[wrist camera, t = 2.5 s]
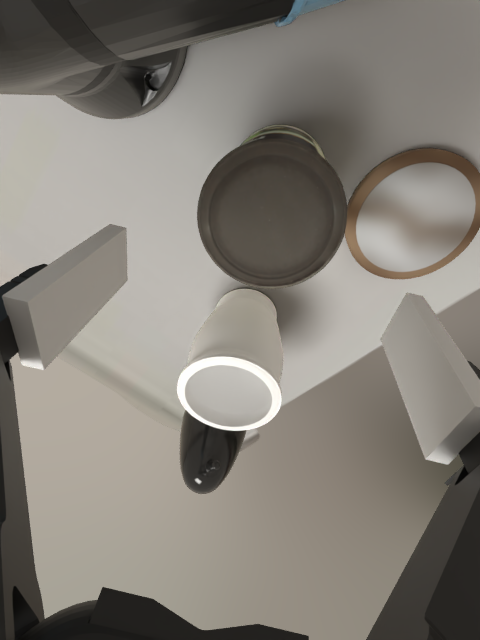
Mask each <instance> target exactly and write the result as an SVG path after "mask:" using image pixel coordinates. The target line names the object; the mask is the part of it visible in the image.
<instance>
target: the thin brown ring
mask: <svg viewBox="0 0 480 640" xmlns="http://www.w3.org/2000/svg"><path fill="white" fill-rule="evenodd" d="M479 228H480V173H479V172H478V170H477V169H476V168H475V167H474V166H473V165H472V164H471V163H470V162H469V161H468V160H466V159H465V158H463V157H461V156H459V155H457V154H454V153H451V152H448V151H445V150H441V149H434V148H420V149H414V150H409V151H406V152H403V153H400V154H397V155H395V156H393V157H391V158H389V159H387V160H386V161H384V162H382V163H381V164H379V165H378V166H377V167H375V168H374V169H373V170H372V171H371V172H370V173H369V174H367V175H366V177H365V178H364V179H363V180H362V181H361V182H360V184H359V185H358V186H357V188H356V189H355V191H354V193H353V195H352V196H351V198H350V201H349V203H348V206H347V224H346V229H345V238H346V241H347V244H348V247H349V249H350V251H351V253H352V255H353V257H354V258H355V260H356V261H357V262H358V263H359V264H360V265H361V266H362V267H363V268H365V269H366V270H367V271H369V272H371V273H373V274H375V275H378V276H380V277H384V278H390V279H410V278H415V277H420V276H423V275H426V274H429V273H431V272H434V271H436V270H438V269H440V268H441V267H443V266H445V265H446V264H448V263H449V262H451V261H452V260H453V259H455V258H456V257H457V256H458V255H459V254H460V253H461V252H462V251H464V250H465V249H466V247H467V246H468V245H469V244H470V242H471V241H472V240H473V238H474V237H475V235H476V234H477V232H478V230H479Z"/></svg>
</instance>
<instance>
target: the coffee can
mask: <svg viewBox="0 0 480 640" xmlns="http://www.w3.org/2000/svg"><path fill="white" fill-rule="evenodd" d="M197 220H198V229H199V233H200V237H201V240H202V242H203V244H204V247H205V249H206V251H207V252H208V254H209V256H210V257H211V259H212V260H213V261H214V262H215V264H216V265H217V266H218V267H219V268H220V269H221V270H222V271H224V272H225V273H226V274H227V275H229V276H230V277H232V278H234V279H235V280H237V281H239V282H242V283H244V284H246V285H250V286H253V287H258V288H267V289H277V288H284V287H289V286H293V285H296V284H299V283H301V282H303V281H306V280H307V279H309V278H311V277H313V276H314V275H315V274H317V273H318V272H319V271H321V270H322V269H323V268H324V267H325V266H326V265H327V264H328V263H329V262H330V260H331V259H332V258H333V256H334V255H335V253H336V252H337V250H338V248H339V246H340V244H341V242H342V239H343V237H344V233H345V229H346V224H347V202H346V197H345V193H344V189H343V186H342V183H341V181H340V179H339V177H338V176H337V174H336V172H335V171H334V169H333V168H332V167H331V165H330V164H329V163H328V162H327V161H326V159H325V157H324V154H323V152H322V150H321V148H320V146H319V145H318V143H317V142H316V141H315V140H314V138H312V137H311V136H310V135H309V134H307V133H306V132H304V131H303V130H301V129H299V128H296V127H293V126H288V125H272V126H268V127H265V128H262V129H260V130H258V131H256V132H255V133H253V134H252V135H250V136H249V137H248V138H247V139H246V140H245V141H244V142H243V143H242V144H241V145H240V146H239V147H237V148H236V149H234V150H233V151H231V152H230V153H228V154H227V155H226V156H225V157H223V158H222V159H221V160H220V161H219V162H218V163H217V164H216V166H215V167H214V168H213V169H212V171H211V172H210V174H209V175H208V177H207V179H206V181H205V183H204V184H203V187H202V190H201V193H200V197H199V201H198V209H197Z"/></svg>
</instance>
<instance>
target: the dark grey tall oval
mask: <svg viewBox="0 0 480 640" xmlns="http://www.w3.org/2000/svg"><path fill="white" fill-rule="evenodd" d="M245 434H246V430H241V431H232V430H223V429H219V428H215V427H212V426H209V425H207V424H205V423H203V422H201V421H199V420H197V419H196V418H194V417H193V416H192V415H191V414H190V413H188V412H187V410H185V413H184V416H183V421H182V427H181V434H180V465H181V472H182V476H183V479H184V482H185V484H186V485H187V487H188V488H189V489H191V490H192V491H193V492H196V493H198V494H207V493H210V492H212V491H214V490H215V489H216V488H217V487H218V486H219V485H220V484H221V483H222V482H223V481H224V480H225V478H226V477H227V475H228V474H229V472H230V470H231V468H232V466H233V464H234V462H235V460H236V458H237V456H238V454H239V451H240V449H241V446H242V444H243V441H244V437H245Z"/></svg>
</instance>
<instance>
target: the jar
mask: <svg viewBox="0 0 480 640" xmlns="http://www.w3.org/2000/svg"><path fill="white" fill-rule="evenodd" d="M276 320H277V312H276V309H275V306H274V304H273V303H272V301H271V300H270V299H269V298H268V297H267V296H266V295H264V294H262V293H261V292H258V291H256V290H252V289H237V290H233V291H231V292H229V293H227V294H226V295H224V296H223V297H222V298H221V299H220V300H219V302H218V304H217V306H216V309H215V310H214V311H213V312H212V313H211V315H210V316H209V317H208V319H207V320H206V322H205V323H204V324H203V326H202V327H201V328H200V330H199V332H198V333H197V335H196V337H195V339H194V341H193V344H192V347H191V350H190V353H189V357H188V362H187V365H186V366H185V368H184V369H183V370H182V372H181V374H180V377H179V380H178V383H177V394H178V397H179V400H180V402H181V404H182V405H183V407H184V408H185V409H186V410H187V412H188V413H190V414H191V415H192V416H193V417H194V418H196V419H197V420H199V421H201V422H203V423H205V424H207V425H209V426H212V427H215V428H219V429H223V430H232V431H241V430H249V429H254V428H257V427H260V426H262V425H264V424H266V423H267V422H269V421H270V420H271V419H272V418H273V417H274V416H275V415H276V414H277V412H278V411H279V409H280V406H281V387H280V384H279V383H280V379H281V374H282V368H283V347H282V342H281V338H280V332H279V328H278V324H277V322H276Z"/></svg>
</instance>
